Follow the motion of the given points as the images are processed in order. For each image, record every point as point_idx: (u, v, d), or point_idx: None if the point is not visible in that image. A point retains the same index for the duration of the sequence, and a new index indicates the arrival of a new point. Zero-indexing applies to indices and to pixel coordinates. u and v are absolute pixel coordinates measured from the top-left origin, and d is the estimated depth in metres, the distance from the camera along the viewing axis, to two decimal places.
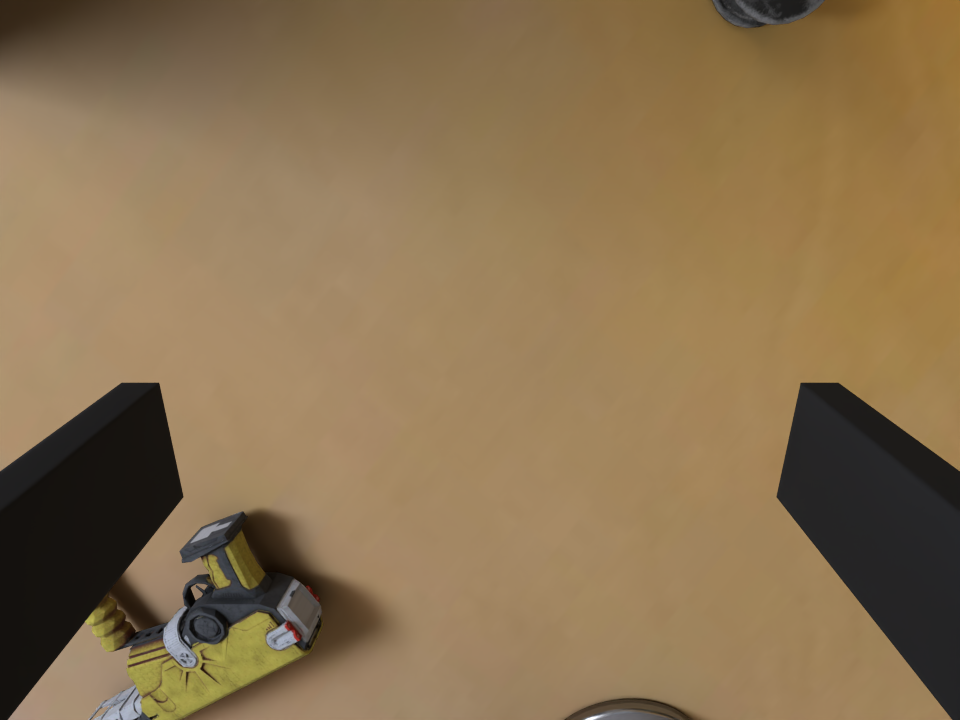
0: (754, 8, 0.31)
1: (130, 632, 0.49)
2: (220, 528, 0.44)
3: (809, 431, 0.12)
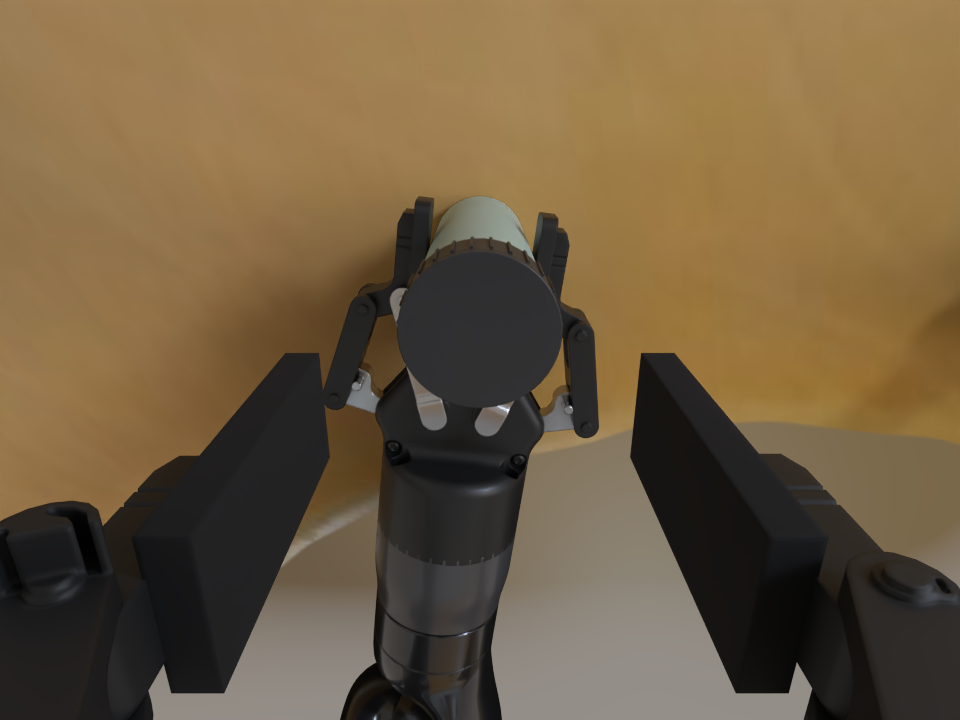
0: None
1: None
2: None
3: (645, 395, 0.13)
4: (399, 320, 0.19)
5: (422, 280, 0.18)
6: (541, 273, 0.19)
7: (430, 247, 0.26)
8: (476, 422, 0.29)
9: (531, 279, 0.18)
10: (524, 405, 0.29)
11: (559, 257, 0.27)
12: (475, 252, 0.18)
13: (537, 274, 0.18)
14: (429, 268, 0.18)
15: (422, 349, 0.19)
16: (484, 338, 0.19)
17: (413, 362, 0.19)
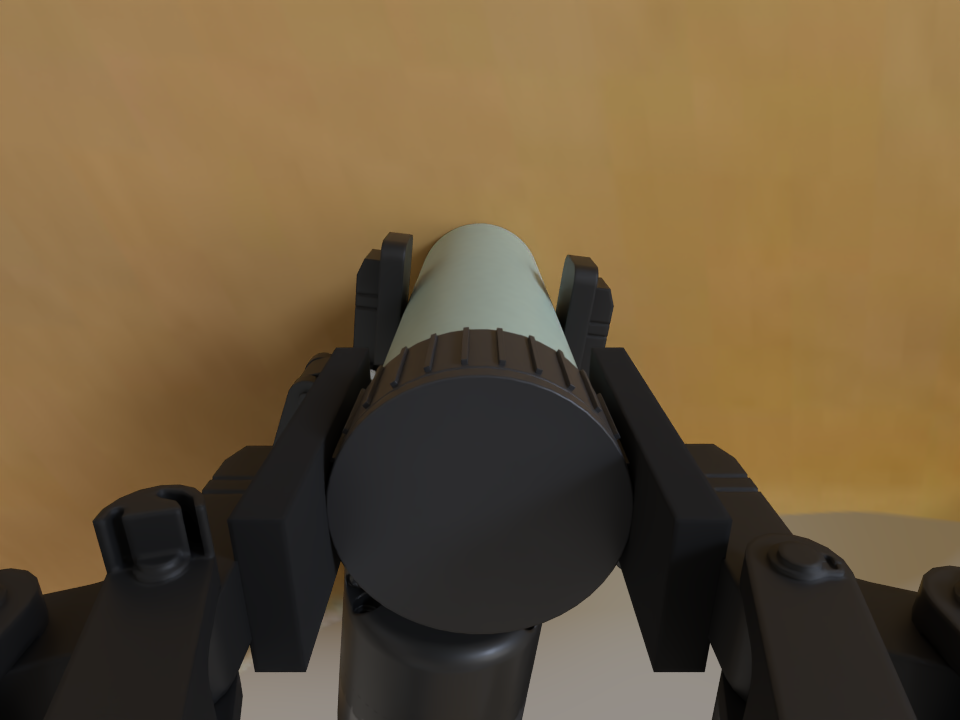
0: None
1: None
2: None
3: (593, 388, 0.14)
4: (328, 495, 0.10)
5: (370, 426, 0.10)
6: (595, 406, 0.10)
7: (404, 313, 0.17)
8: None
9: (579, 425, 0.10)
10: None
11: (598, 323, 0.18)
12: (470, 378, 0.09)
13: (590, 416, 0.10)
14: (382, 405, 0.09)
15: (374, 542, 0.10)
16: (488, 525, 0.10)
17: (358, 564, 0.11)
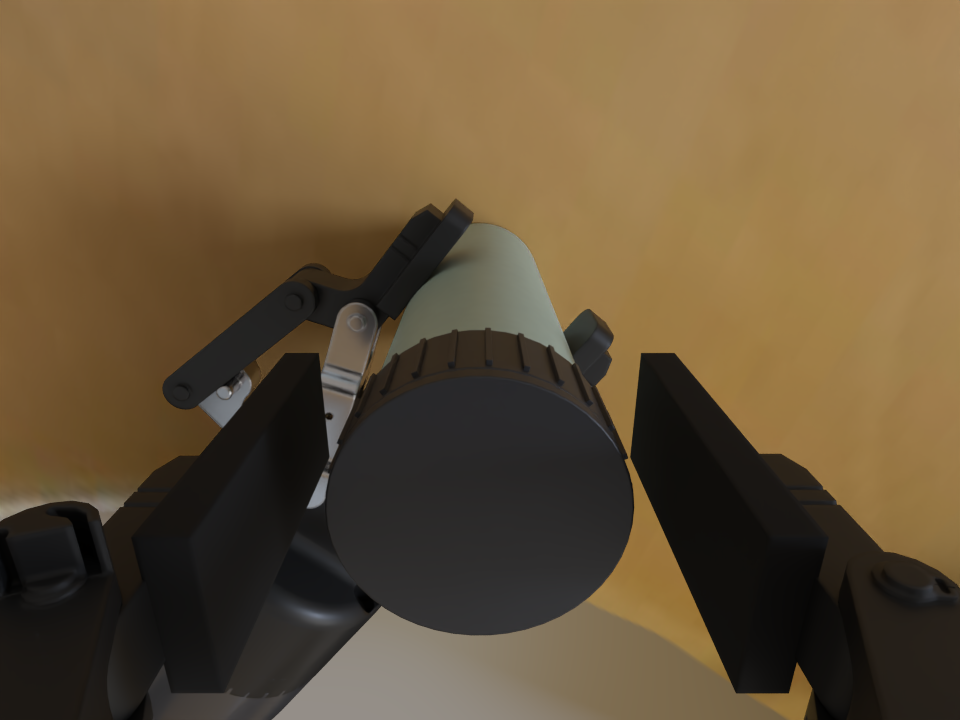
0: None
1: None
2: None
3: (645, 395, 0.13)
4: (360, 587, 0.11)
5: (335, 517, 0.10)
6: (486, 361, 0.10)
7: (439, 280, 0.17)
8: None
9: (472, 391, 0.09)
10: None
11: None
12: (359, 428, 0.10)
13: (474, 377, 0.09)
14: (326, 497, 0.10)
15: (427, 595, 0.11)
16: (492, 519, 0.10)
17: (433, 619, 0.11)
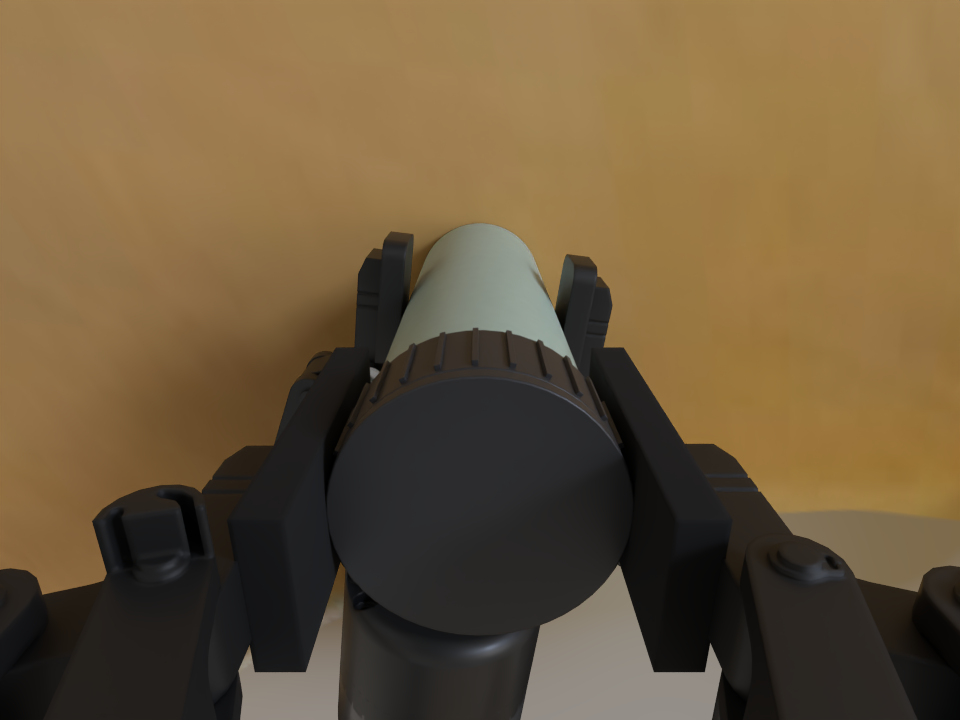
0: None
1: None
2: None
3: None
4: (423, 625, 0.11)
5: (362, 578, 0.11)
6: (400, 380, 0.10)
7: (405, 312, 0.17)
8: None
9: (395, 415, 0.09)
10: None
11: (597, 322, 0.18)
12: (328, 495, 0.10)
13: (388, 402, 0.09)
14: (343, 565, 0.11)
15: (484, 606, 0.11)
16: (490, 513, 0.10)
17: (503, 623, 0.11)
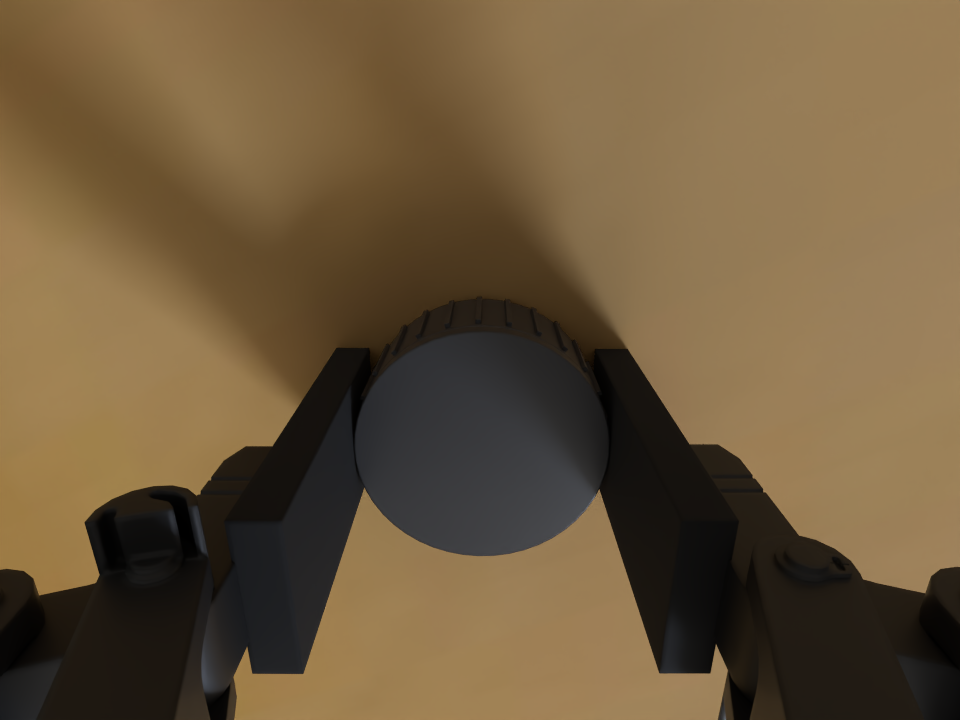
0: None
1: None
2: None
3: None
4: (433, 546, 0.13)
5: (383, 504, 0.13)
6: (416, 336, 0.12)
7: None
8: None
9: (413, 363, 0.12)
10: None
11: None
12: (355, 431, 0.12)
13: (407, 353, 0.12)
14: (367, 492, 0.13)
15: (484, 530, 0.13)
16: (490, 448, 0.12)
17: (501, 545, 0.13)
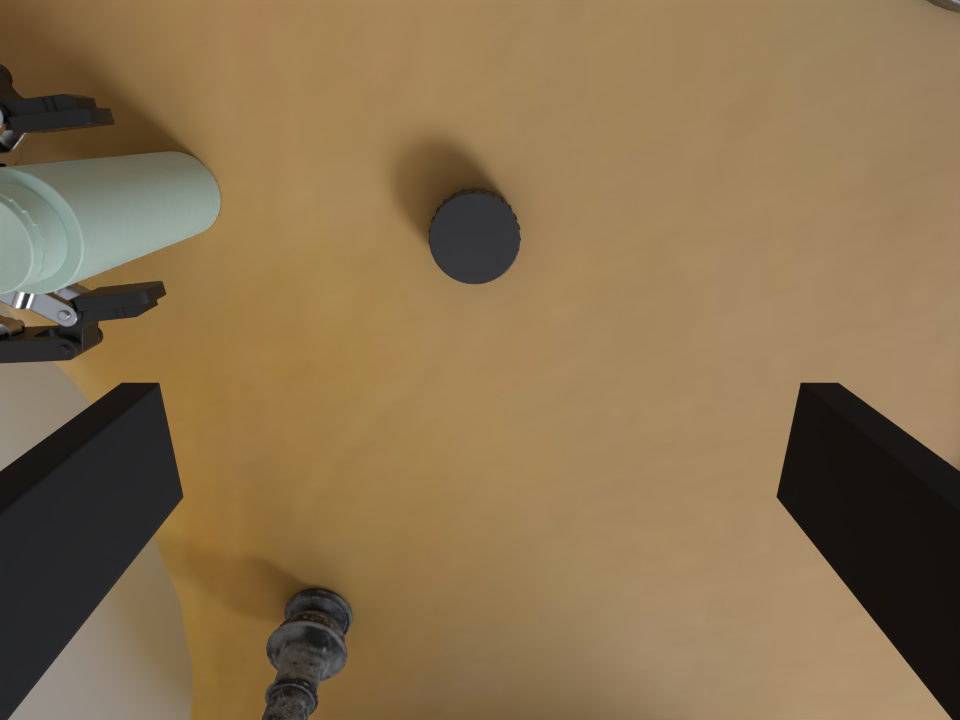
0: (337, 643, 0.44)
1: None
2: None
3: (809, 431, 0.12)
4: (457, 279, 0.35)
5: (439, 262, 0.35)
6: (451, 197, 0.34)
7: (100, 162, 0.27)
8: None
9: (450, 205, 0.34)
10: None
11: (123, 311, 0.31)
12: (430, 231, 0.34)
13: (449, 201, 0.34)
14: (433, 256, 0.35)
15: (476, 272, 0.35)
16: (477, 238, 0.35)
17: (482, 279, 0.35)
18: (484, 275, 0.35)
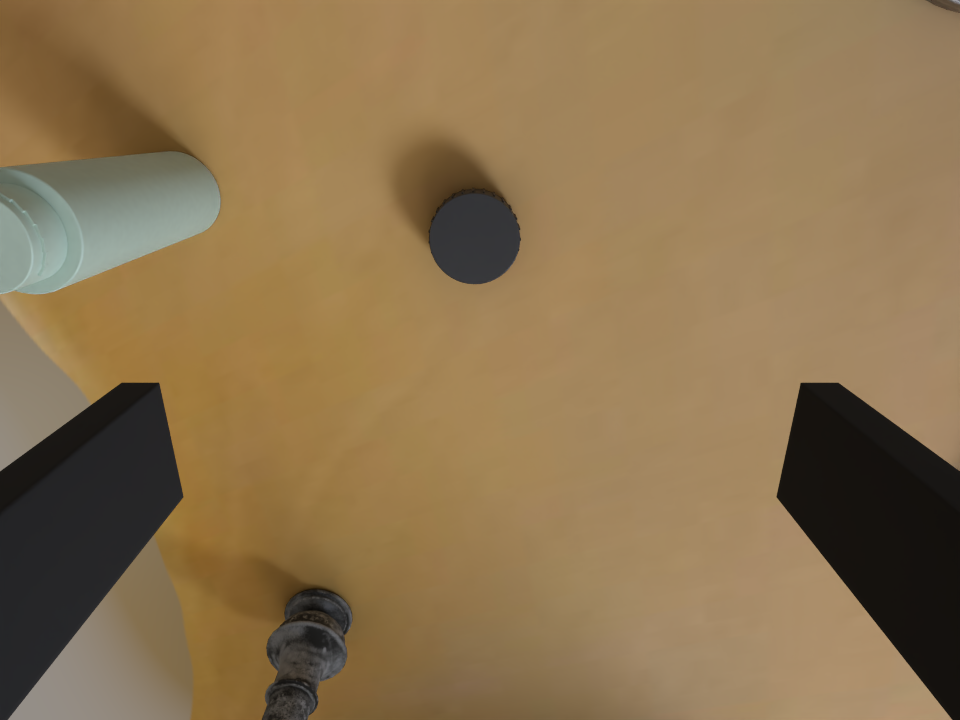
0: (337, 643, 0.44)
1: None
2: None
3: (809, 431, 0.12)
4: (457, 279, 0.35)
5: (439, 262, 0.35)
6: (451, 197, 0.34)
7: (99, 162, 0.27)
8: None
9: (450, 205, 0.34)
10: None
11: None
12: (430, 231, 0.34)
13: (449, 201, 0.34)
14: (433, 256, 0.35)
15: (476, 272, 0.35)
16: (477, 238, 0.35)
17: (482, 279, 0.35)
18: (484, 275, 0.35)
